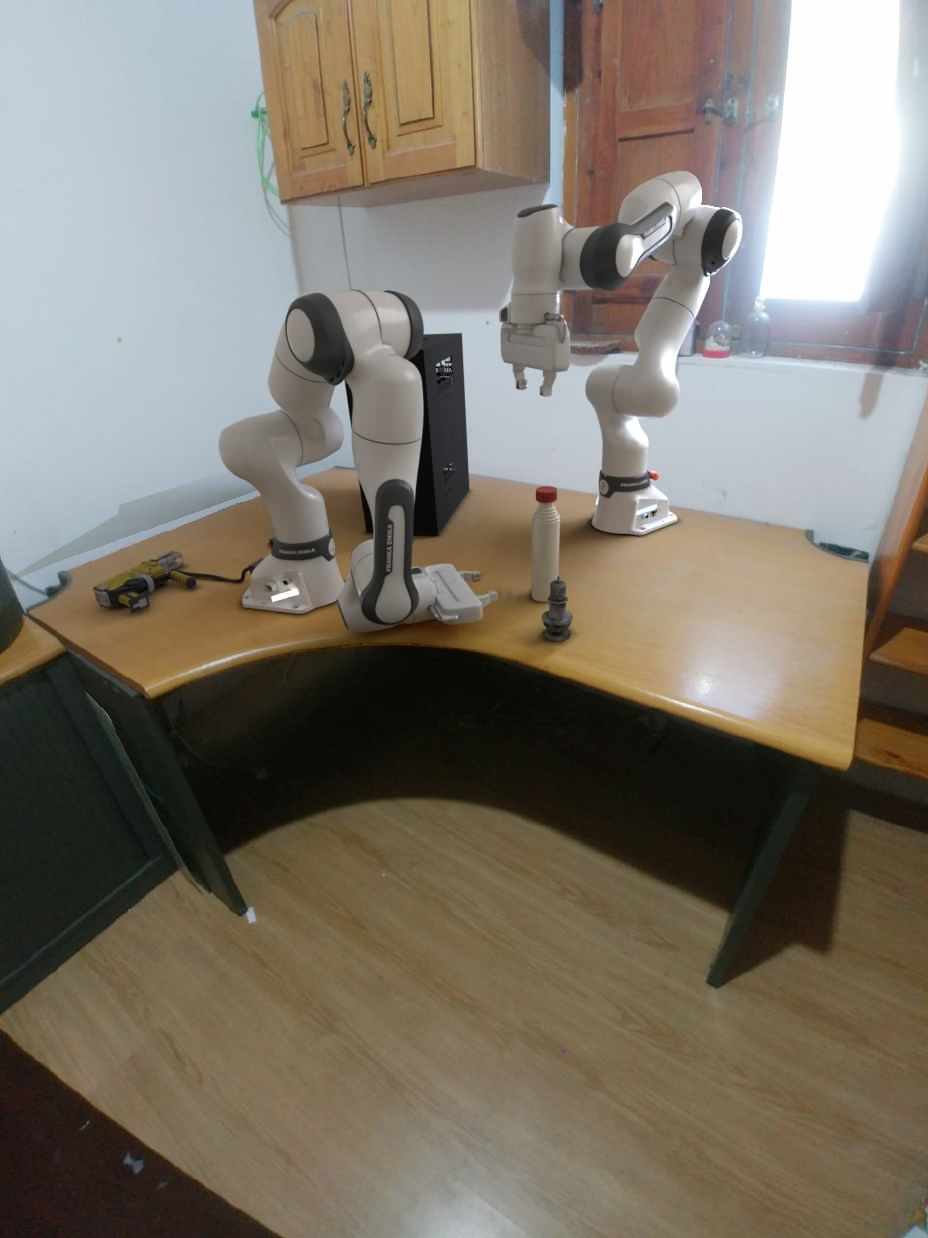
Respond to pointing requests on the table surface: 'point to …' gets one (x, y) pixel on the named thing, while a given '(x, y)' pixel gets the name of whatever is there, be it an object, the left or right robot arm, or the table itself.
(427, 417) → the black tall box
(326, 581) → the left robot arm
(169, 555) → the toy gun
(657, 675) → the table surface
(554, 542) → the bottle
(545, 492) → the cap
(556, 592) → the grey stepped cylinder
